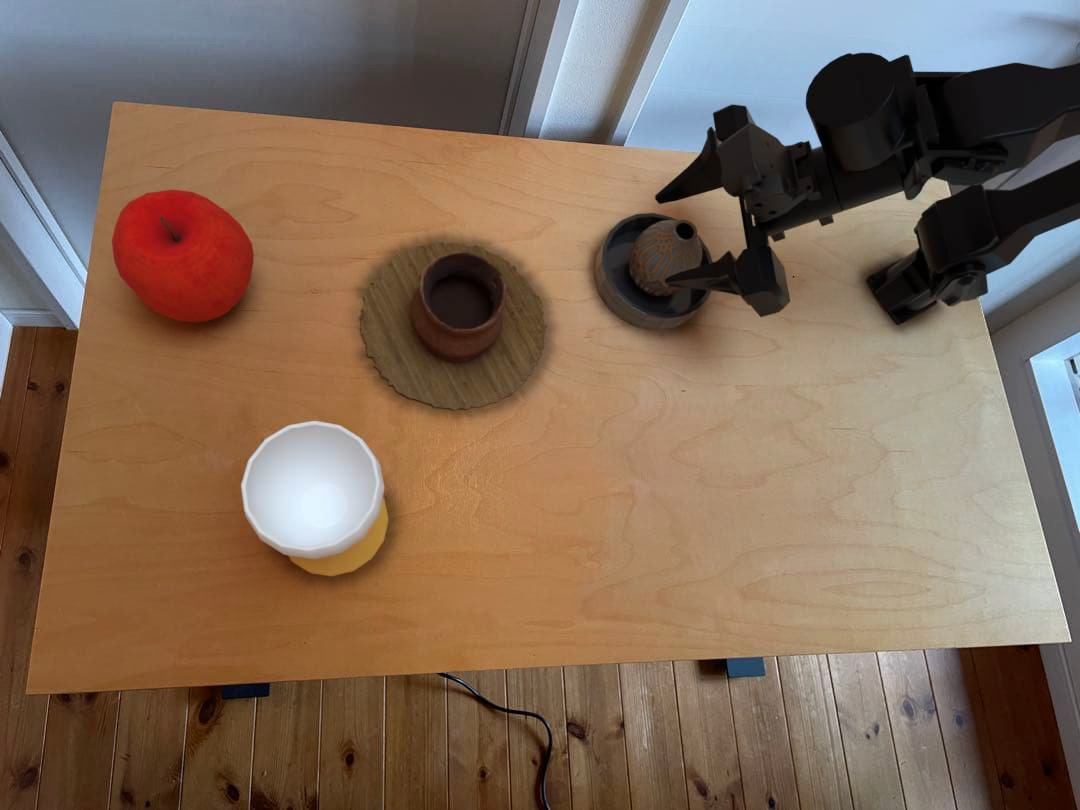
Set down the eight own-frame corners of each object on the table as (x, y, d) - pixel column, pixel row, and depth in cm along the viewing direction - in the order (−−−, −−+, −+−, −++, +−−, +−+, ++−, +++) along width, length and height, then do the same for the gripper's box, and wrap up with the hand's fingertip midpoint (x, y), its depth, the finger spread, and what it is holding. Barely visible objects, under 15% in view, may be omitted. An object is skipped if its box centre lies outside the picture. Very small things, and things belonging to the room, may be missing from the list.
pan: (663, 214, 74) (674, 197, 71) (722, 303, 72) (736, 290, 69) (573, 252, 70) (580, 236, 68) (632, 348, 68) (642, 336, 65)
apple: (270, 251, 64) (243, 169, 53) (260, 347, 61) (229, 282, 49) (156, 242, 62) (102, 155, 51) (139, 341, 59) (78, 272, 47)
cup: (280, 470, 58) (240, 415, 43) (388, 468, 60) (386, 415, 45) (274, 579, 55) (228, 560, 40) (387, 573, 57) (384, 554, 42)
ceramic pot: (548, 255, 70) (563, 216, 63) (543, 418, 64) (560, 394, 57) (370, 231, 67) (367, 188, 60) (348, 401, 61) (342, 373, 54)
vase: (692, 299, 71) (730, 256, 63) (633, 311, 69) (665, 268, 61) (670, 242, 73) (705, 193, 64) (612, 252, 71) (640, 203, 63)
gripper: (791, 25, 53) (613, 111, 61) (835, 233, 47) (632, 298, 55) (822, 108, 61) (664, 174, 70) (862, 292, 56) (684, 340, 64)
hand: (661, 240), depth 64 cm, fingers open, 9 cm apart
